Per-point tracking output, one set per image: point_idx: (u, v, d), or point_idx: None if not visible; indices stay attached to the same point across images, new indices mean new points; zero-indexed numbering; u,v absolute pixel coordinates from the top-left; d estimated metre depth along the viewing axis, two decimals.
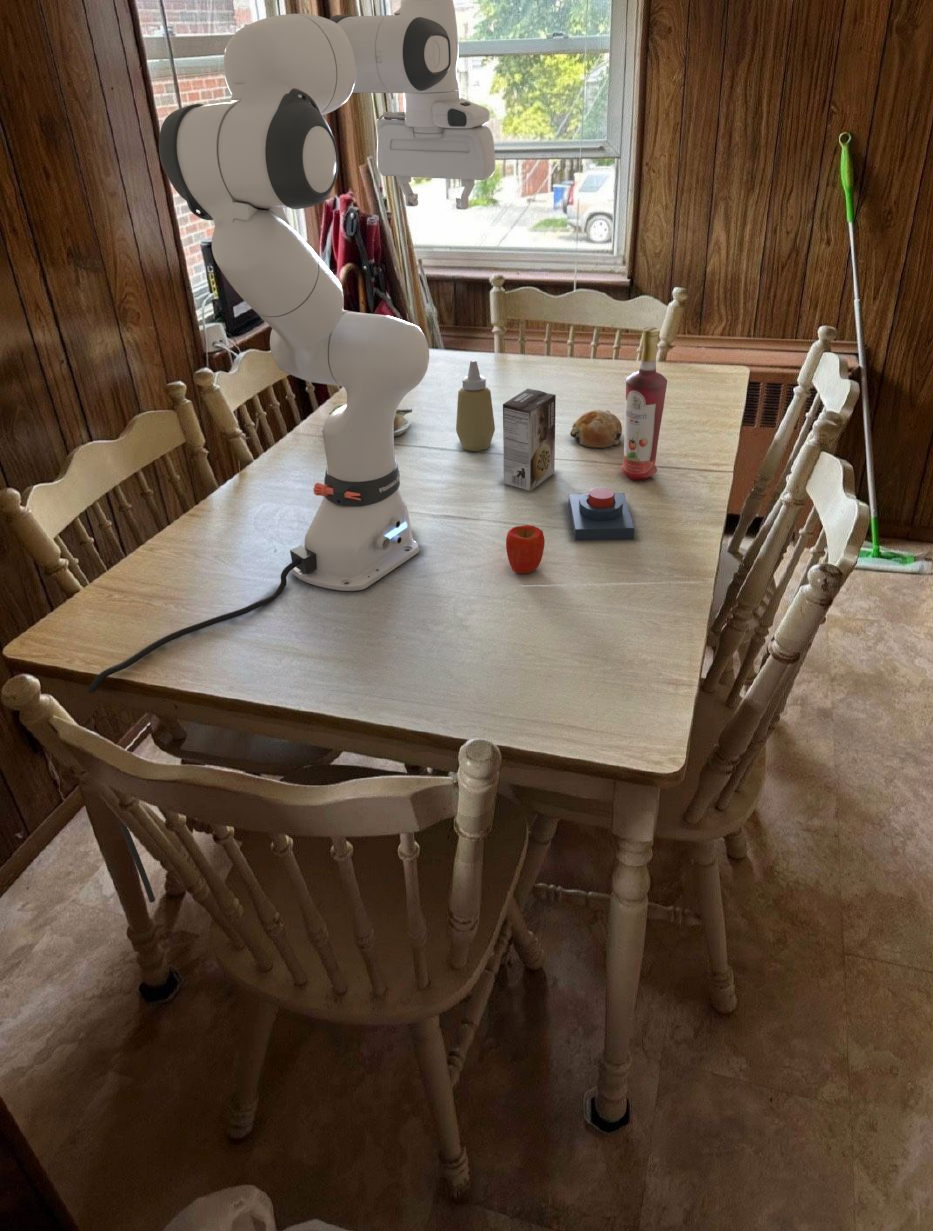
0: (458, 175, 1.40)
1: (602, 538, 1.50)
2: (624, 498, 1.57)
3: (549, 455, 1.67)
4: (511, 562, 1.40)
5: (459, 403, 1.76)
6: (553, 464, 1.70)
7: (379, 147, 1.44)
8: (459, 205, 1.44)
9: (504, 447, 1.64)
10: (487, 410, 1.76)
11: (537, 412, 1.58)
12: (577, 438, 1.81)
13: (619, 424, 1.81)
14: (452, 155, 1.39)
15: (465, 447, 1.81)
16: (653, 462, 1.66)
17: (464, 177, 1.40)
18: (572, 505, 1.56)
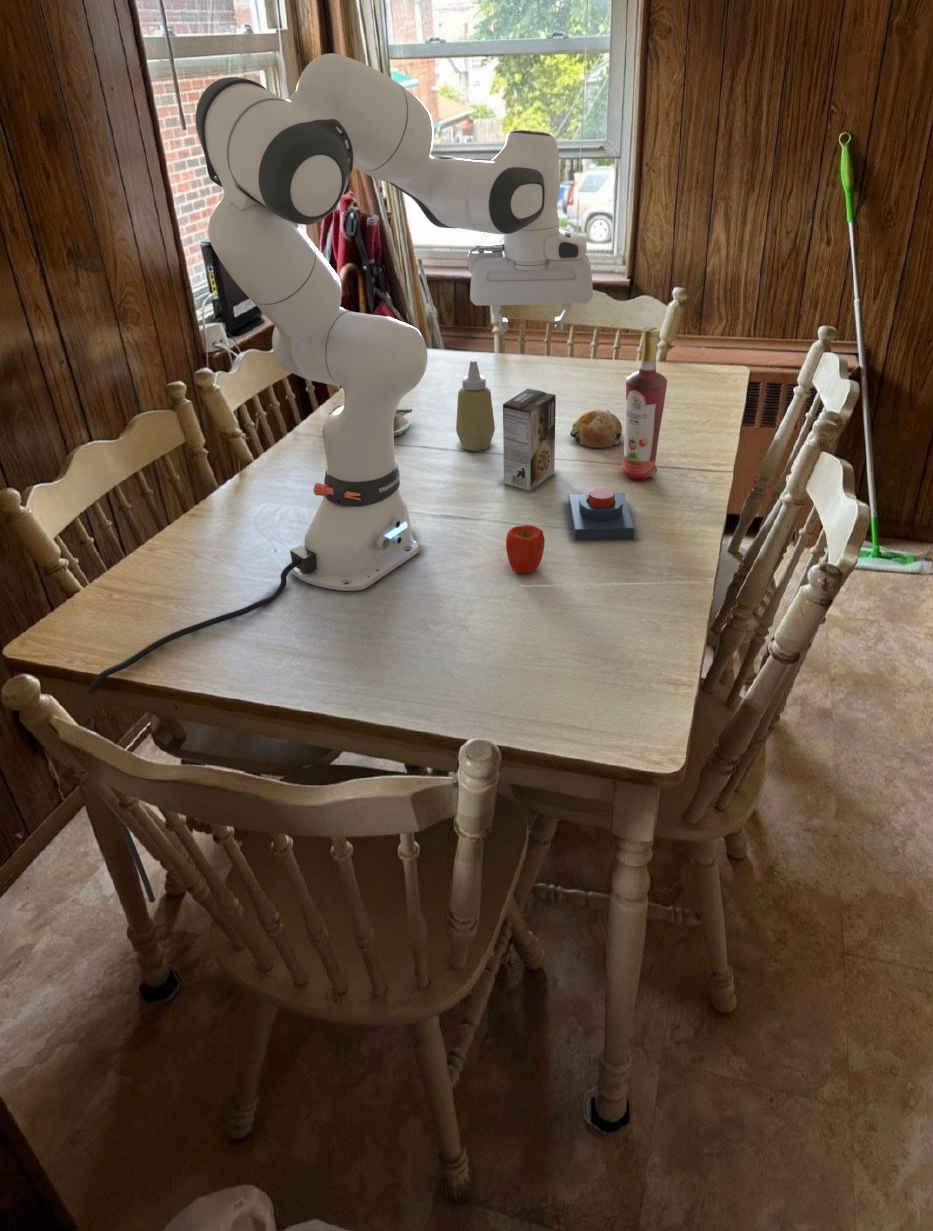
0: (562, 300, 1.44)
1: (602, 538, 1.50)
2: (624, 498, 1.57)
3: (549, 455, 1.67)
4: (511, 562, 1.40)
5: (459, 403, 1.76)
6: (553, 464, 1.70)
7: (474, 279, 1.43)
8: (558, 326, 1.48)
9: (504, 447, 1.64)
10: (487, 410, 1.76)
11: (537, 412, 1.58)
12: (577, 438, 1.81)
13: (619, 424, 1.81)
14: (556, 283, 1.43)
15: (465, 447, 1.81)
16: (653, 462, 1.66)
17: (568, 302, 1.44)
18: (572, 505, 1.56)
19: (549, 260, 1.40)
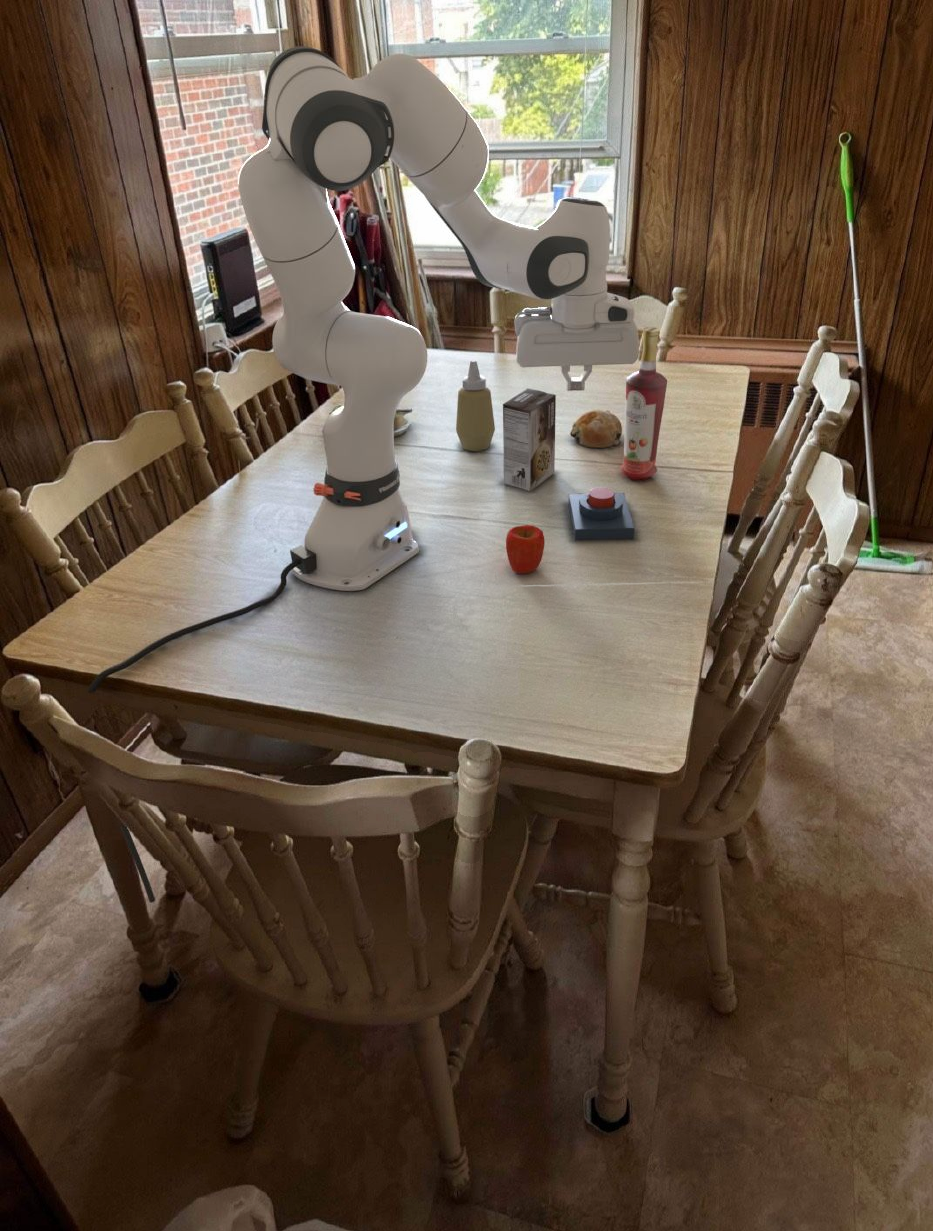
0: (608, 361, 1.45)
1: (602, 538, 1.50)
2: (624, 498, 1.57)
3: (549, 455, 1.67)
4: (511, 562, 1.40)
5: (459, 403, 1.76)
6: (553, 464, 1.70)
7: (521, 342, 1.43)
8: (579, 387, 1.49)
9: (504, 447, 1.64)
10: (487, 410, 1.76)
11: (537, 412, 1.58)
12: (577, 438, 1.81)
13: (619, 424, 1.81)
14: (603, 344, 1.44)
15: (465, 447, 1.81)
16: (653, 462, 1.66)
17: (614, 363, 1.45)
18: (572, 505, 1.56)
19: (597, 323, 1.41)
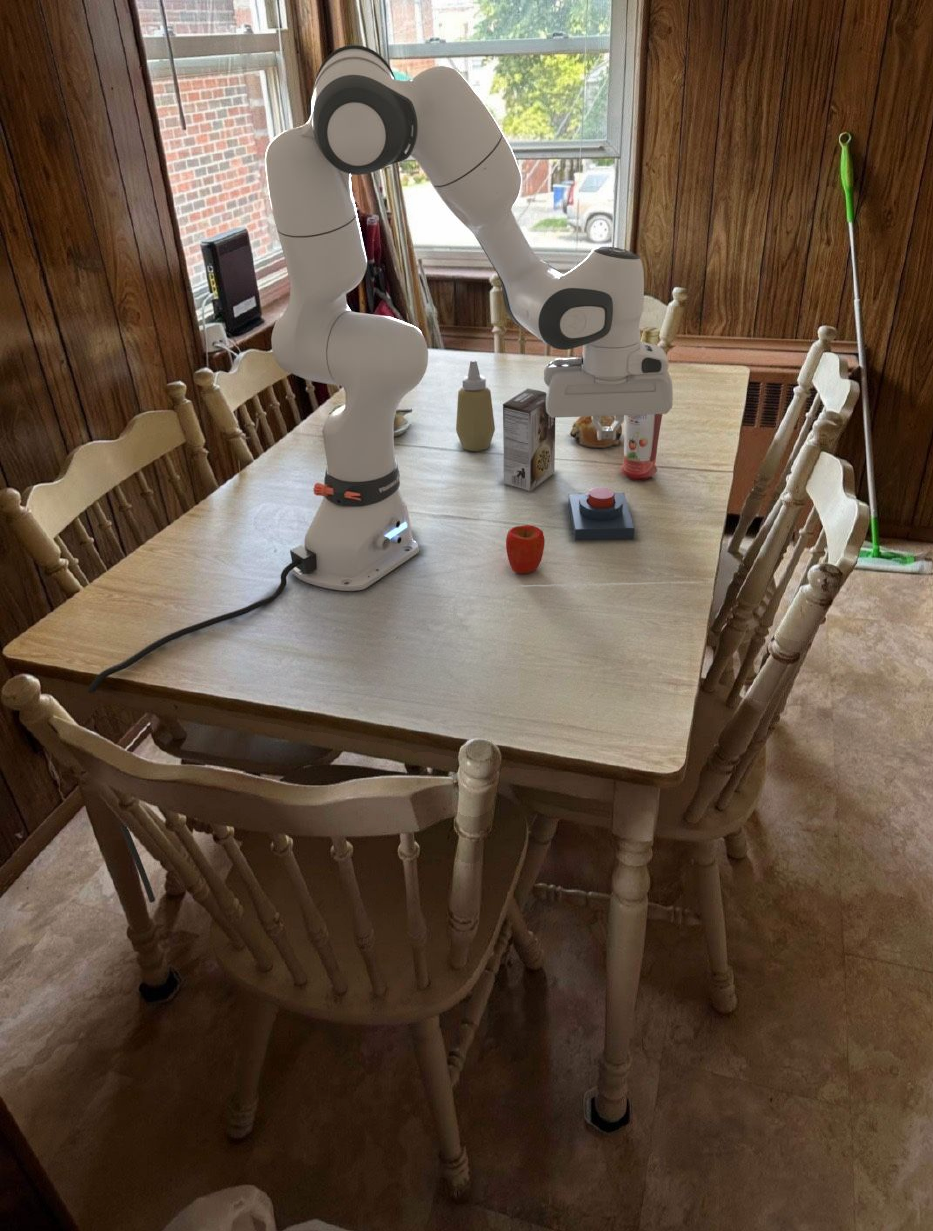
0: (641, 412, 1.41)
1: (602, 538, 1.50)
2: (624, 498, 1.57)
3: (549, 455, 1.67)
4: (511, 562, 1.40)
5: (459, 403, 1.76)
6: (553, 464, 1.70)
7: (552, 393, 1.40)
8: (610, 436, 1.45)
9: (504, 447, 1.64)
10: (487, 410, 1.76)
11: (537, 412, 1.58)
12: (577, 438, 1.81)
13: None
14: (636, 395, 1.40)
15: (465, 447, 1.81)
16: (653, 462, 1.66)
17: (647, 413, 1.41)
18: (572, 505, 1.56)
19: (630, 374, 1.38)
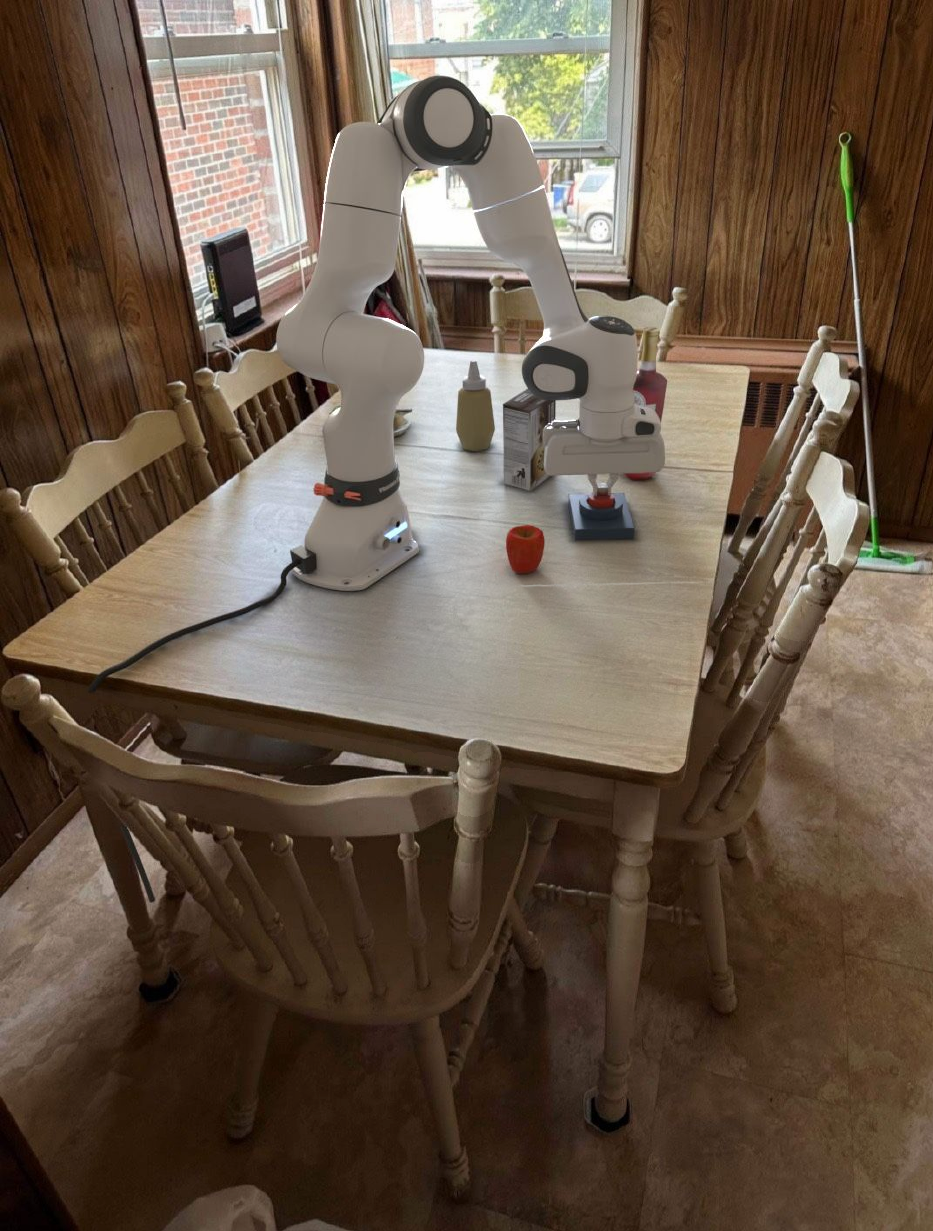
0: (634, 470, 1.48)
1: (602, 538, 1.50)
2: (624, 498, 1.57)
3: None
4: (511, 562, 1.40)
5: (459, 403, 1.76)
6: None
7: (550, 453, 1.46)
8: (605, 492, 1.52)
9: (504, 447, 1.64)
10: (487, 410, 1.76)
11: (537, 412, 1.58)
12: None
13: None
14: (630, 455, 1.46)
15: (465, 447, 1.81)
16: None
17: (640, 471, 1.48)
18: (572, 505, 1.56)
19: None
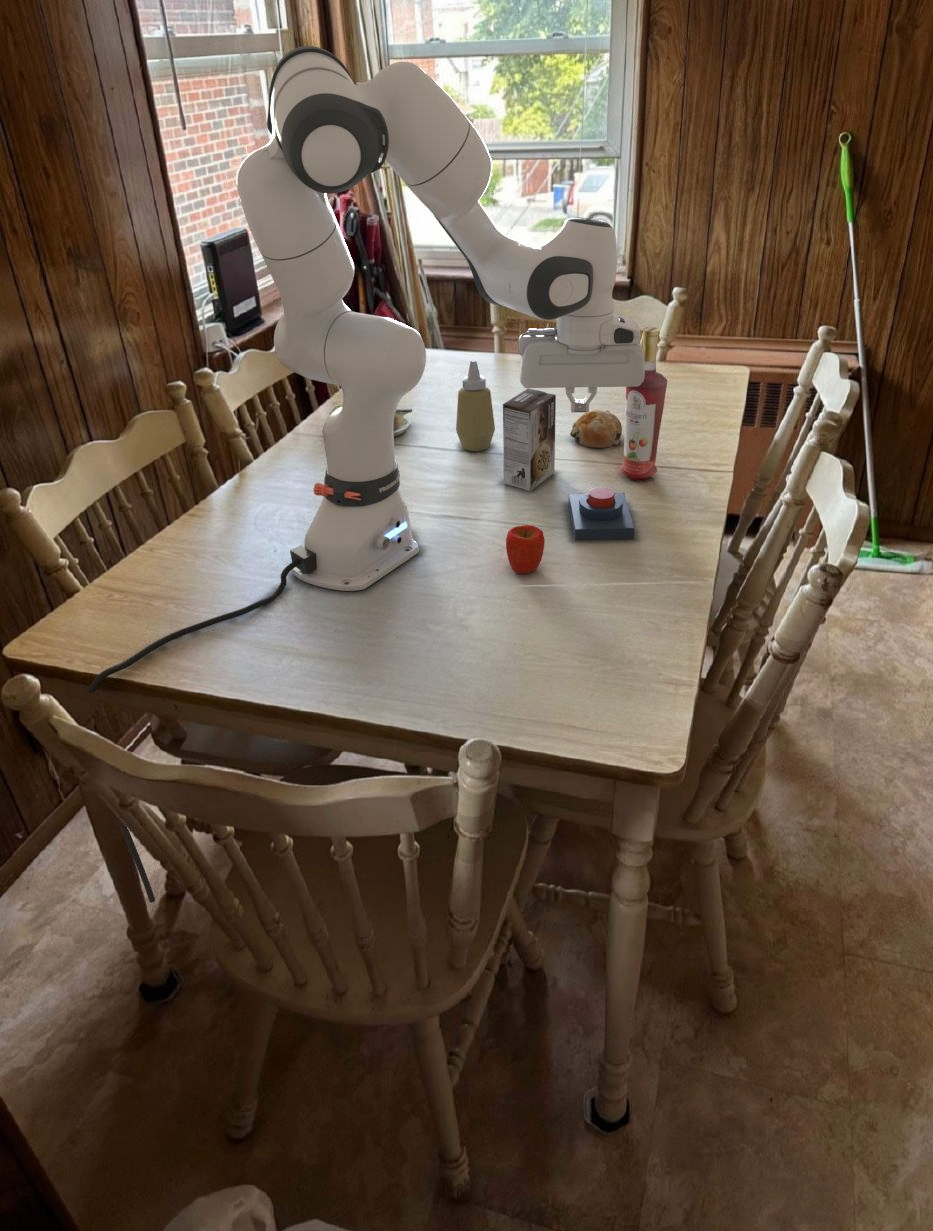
0: (613, 384, 1.43)
1: (602, 538, 1.50)
2: (624, 498, 1.57)
3: (549, 455, 1.67)
4: (511, 562, 1.40)
5: (459, 403, 1.76)
6: (553, 464, 1.70)
7: (525, 363, 1.41)
8: (583, 409, 1.46)
9: (504, 447, 1.64)
10: (487, 410, 1.76)
11: (537, 412, 1.58)
12: (577, 438, 1.81)
13: (619, 424, 1.81)
14: (609, 366, 1.41)
15: (465, 447, 1.81)
16: (653, 462, 1.66)
17: (619, 385, 1.43)
18: (572, 505, 1.56)
19: (603, 345, 1.39)
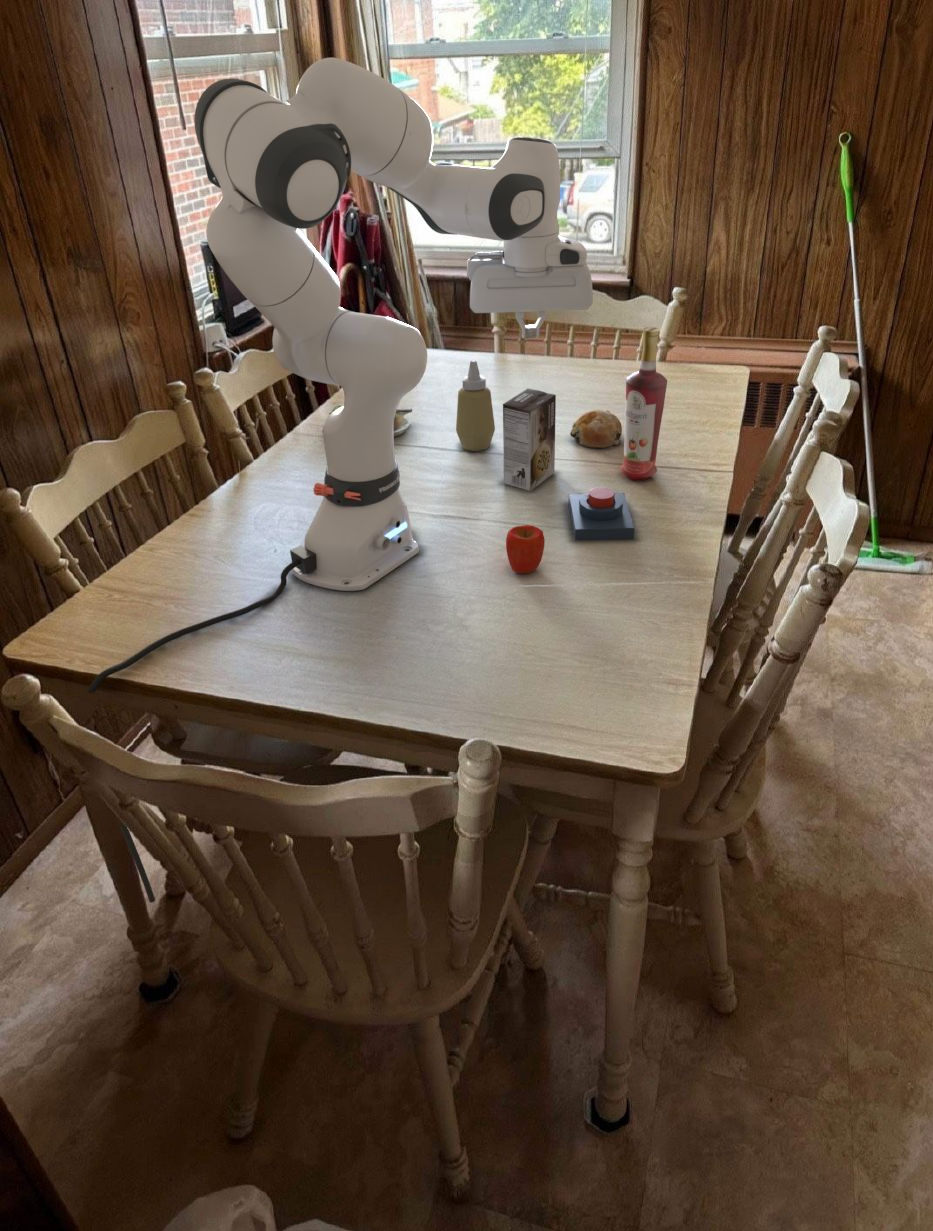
0: (562, 307, 1.44)
1: (602, 538, 1.50)
2: (624, 498, 1.57)
3: (549, 455, 1.67)
4: (511, 562, 1.40)
5: (459, 403, 1.76)
6: (553, 464, 1.70)
7: (474, 287, 1.42)
8: (533, 334, 1.48)
9: (504, 447, 1.64)
10: (487, 410, 1.76)
11: (537, 412, 1.58)
12: (577, 438, 1.81)
13: (619, 424, 1.81)
14: (556, 289, 1.42)
15: (465, 447, 1.81)
16: (653, 462, 1.66)
17: (568, 308, 1.44)
18: (572, 505, 1.56)
19: (549, 267, 1.40)
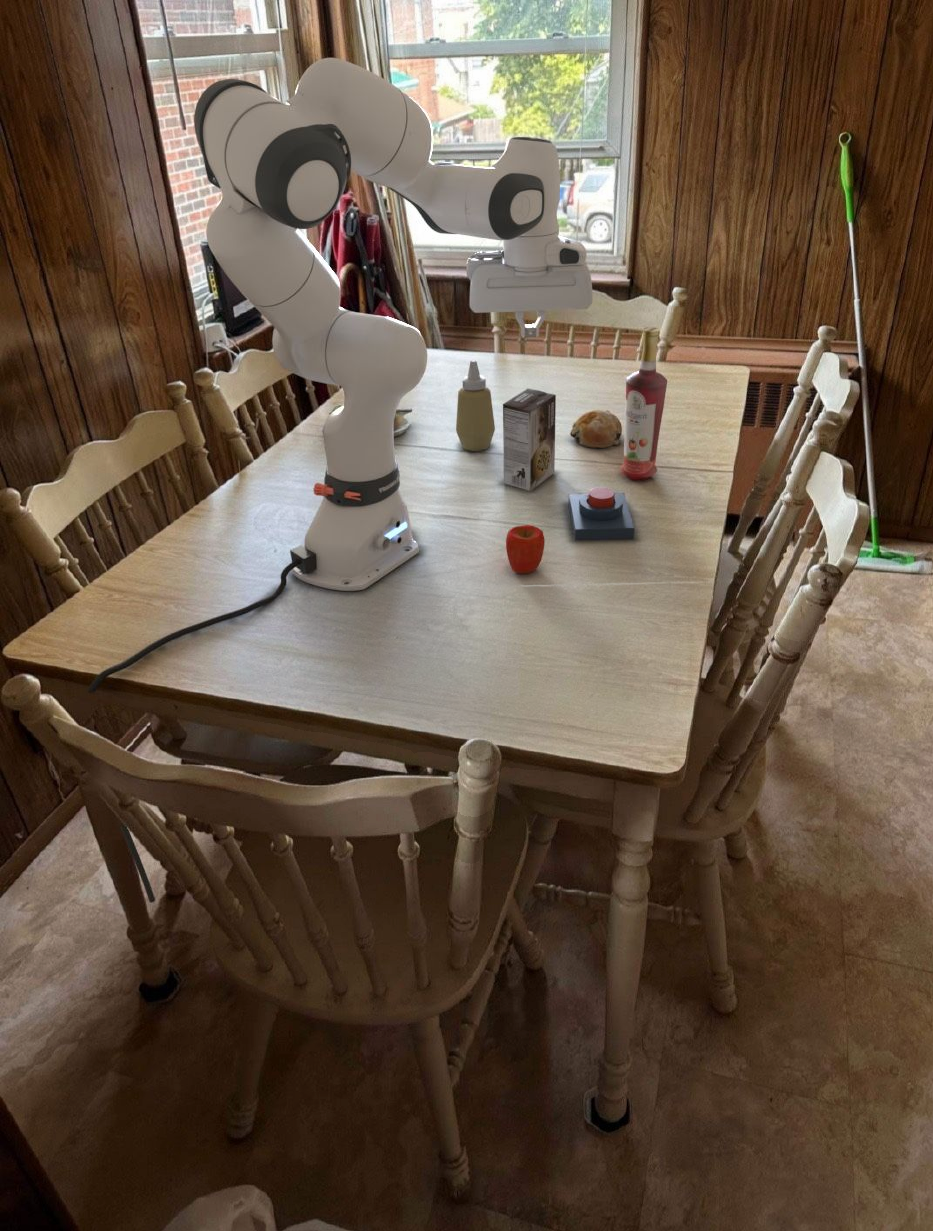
0: (562, 306, 1.44)
1: (602, 538, 1.50)
2: (624, 498, 1.57)
3: (549, 455, 1.67)
4: (511, 562, 1.40)
5: (459, 403, 1.76)
6: (553, 464, 1.70)
7: (474, 286, 1.42)
8: (533, 333, 1.48)
9: (504, 447, 1.64)
10: (487, 410, 1.76)
11: (537, 412, 1.58)
12: (577, 438, 1.81)
13: (619, 424, 1.81)
14: (556, 289, 1.42)
15: (465, 447, 1.81)
16: (653, 462, 1.66)
17: (568, 308, 1.44)
18: (572, 505, 1.56)
19: (549, 266, 1.40)
